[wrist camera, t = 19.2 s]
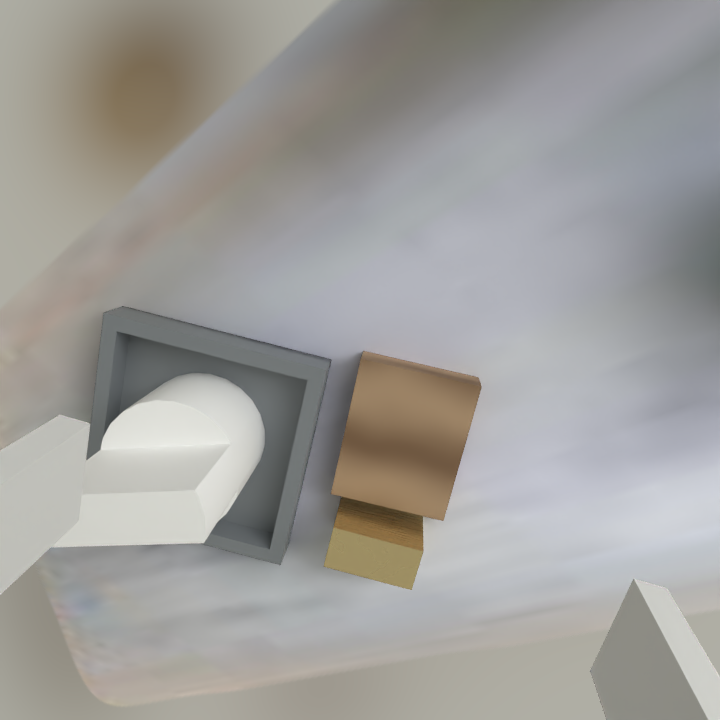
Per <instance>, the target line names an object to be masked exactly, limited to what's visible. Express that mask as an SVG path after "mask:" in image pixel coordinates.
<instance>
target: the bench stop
mask: <svg viewBox="0 0 720 720" xmlns="http://www.w3.org/2000/svg"><path fill="white" fill-rule="evenodd" d="M422 554H423V516H421V515H417V514H413V513H408V512H404V511H400V510H396V509H392V508H388V507H383V506H379V505H375V504H371V503H367V502H362V501H358V500H354V499H350V498H346V497H342V496H341V500H340V504H339V508H338V512H337V516H336V520H335V524H334V527H333V531H332V535H331V539H330V543H329V547H328V551H327V555H326V559H325V563H324V567H327V568H331V569H335V570H339V571H342V572H346V573H350V574H353V575H357V576H361V577H365V578H368V579H372V580H376V581H380V582H383V583H387V584H391V585H395V586H398V587H402V588H406V589H410V590H412V587H413V583H414V580H415V577H416V574H417V570H418V567H419V564H420V561H421V557H422Z"/></svg>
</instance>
